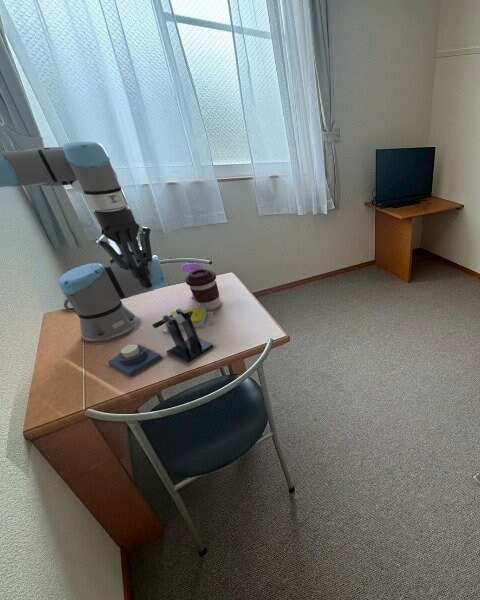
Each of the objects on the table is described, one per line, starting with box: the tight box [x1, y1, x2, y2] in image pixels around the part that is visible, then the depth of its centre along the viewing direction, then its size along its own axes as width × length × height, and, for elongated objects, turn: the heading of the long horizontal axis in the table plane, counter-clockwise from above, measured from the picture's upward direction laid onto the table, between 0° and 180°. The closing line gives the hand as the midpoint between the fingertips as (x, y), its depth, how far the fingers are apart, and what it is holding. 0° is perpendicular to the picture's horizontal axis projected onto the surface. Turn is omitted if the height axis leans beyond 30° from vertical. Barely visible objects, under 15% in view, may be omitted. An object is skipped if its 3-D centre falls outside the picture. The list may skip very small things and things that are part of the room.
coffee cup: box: [184, 268, 221, 311], centre depth 122 cm, size 10×10×15 cm
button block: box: [107, 344, 163, 377], centre depth 98 cm, size 11×9×4 cm
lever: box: [151, 314, 185, 329], centre depth 99 cm, size 12×6×2 cm, turn 64°
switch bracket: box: [162, 308, 214, 364], centre depth 100 cm, size 10×9×15 cm
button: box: [120, 344, 140, 358], centre depth 96 cm, size 4×4×2 cm
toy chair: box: [181, 262, 205, 299], centre depth 131 cm, size 8×9×15 cm
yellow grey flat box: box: [162, 307, 214, 333], centre depth 116 cm, size 9×4×15 cm
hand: (147, 286), depth 95 cm, fingers closed
